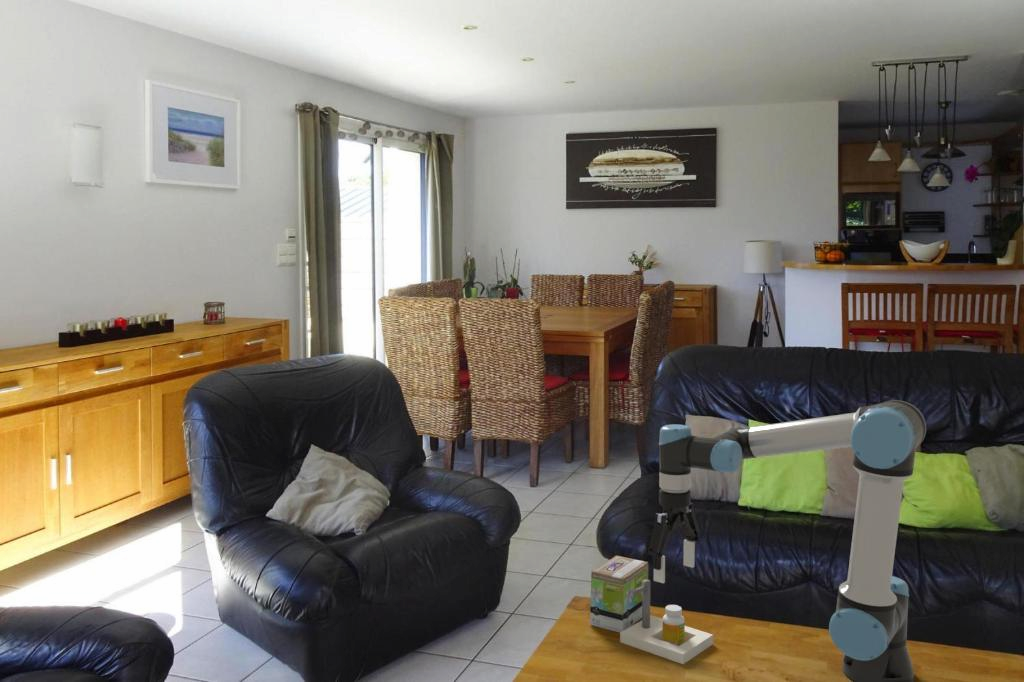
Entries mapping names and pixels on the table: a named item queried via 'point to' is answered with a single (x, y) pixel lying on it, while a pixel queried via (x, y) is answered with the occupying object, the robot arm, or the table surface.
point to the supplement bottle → (673, 625)
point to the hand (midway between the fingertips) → (674, 573)
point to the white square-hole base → (650, 634)
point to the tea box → (617, 593)
